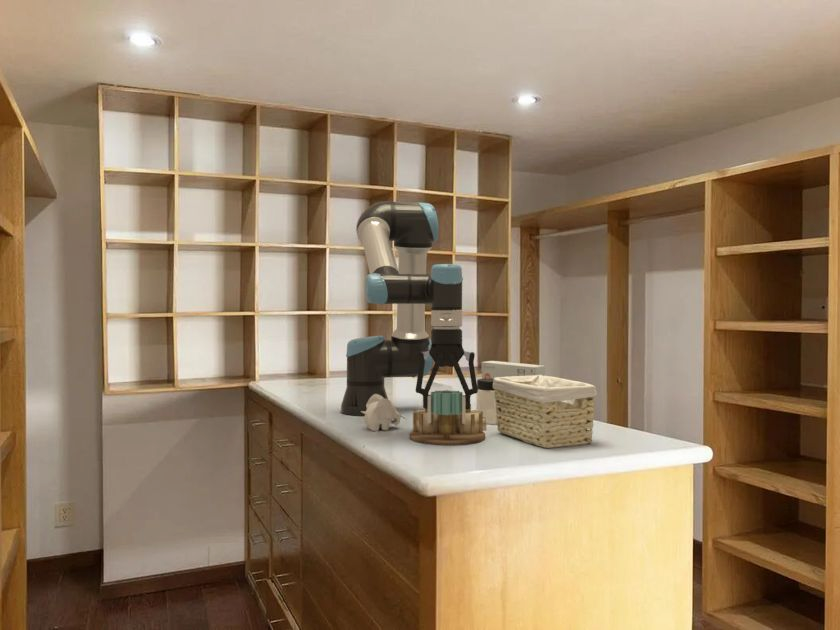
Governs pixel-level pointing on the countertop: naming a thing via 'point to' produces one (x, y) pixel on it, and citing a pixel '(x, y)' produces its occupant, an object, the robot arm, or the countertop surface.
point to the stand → (484, 423)
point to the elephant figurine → (380, 413)
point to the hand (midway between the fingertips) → (446, 422)
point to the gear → (446, 402)
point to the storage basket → (545, 410)
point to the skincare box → (510, 369)
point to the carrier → (447, 428)
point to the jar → (486, 400)
